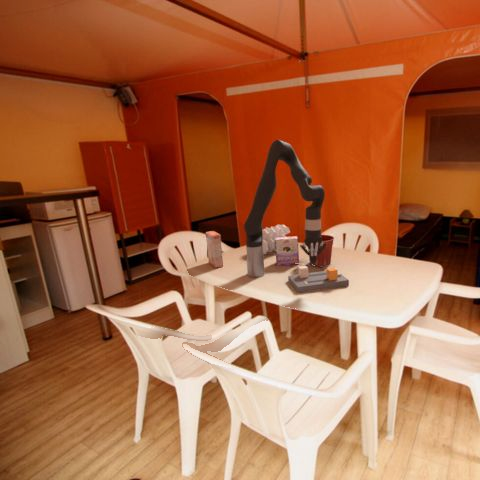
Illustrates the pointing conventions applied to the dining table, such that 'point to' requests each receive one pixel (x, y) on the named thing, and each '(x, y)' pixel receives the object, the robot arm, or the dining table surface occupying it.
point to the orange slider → (332, 274)
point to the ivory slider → (303, 271)
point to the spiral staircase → (273, 236)
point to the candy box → (286, 250)
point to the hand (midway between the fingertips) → (313, 262)
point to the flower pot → (324, 252)
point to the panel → (316, 282)
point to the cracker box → (214, 249)
